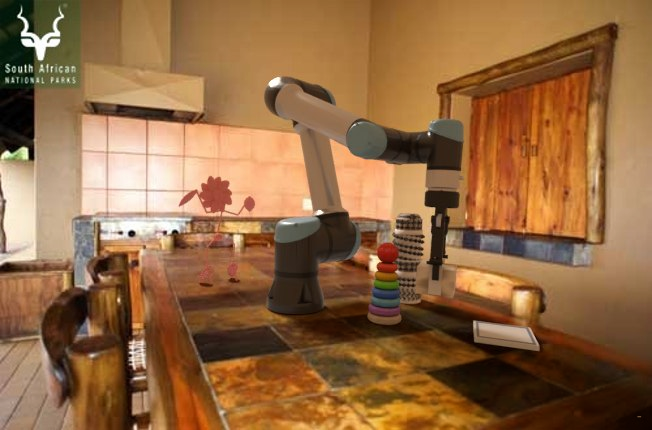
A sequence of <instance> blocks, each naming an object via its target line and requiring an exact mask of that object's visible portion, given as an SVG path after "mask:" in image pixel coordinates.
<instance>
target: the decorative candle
mask: <svg viewBox="0 0 652 430" xmlns="http://www.w3.org/2000/svg"><path fill="white" fill-rule="evenodd" d="M394 219H395V229H394V232H393V233H392V234H391V235H392V236H393V237H394V239H392V242H391V243H393V244H394V245H395V246H396V247H397V248H398V251H399V255H398V258H397V260H396V261H395V262H393V263H396V264H397V266H398V269H397V271H395V272H396V273H397V274H398V278H397V281H398V282H399V287H398V288H397V289H398V290H399V292H400V294H399V296H398V297H399V298H400V304H405V305H416V304H419V303H421V301H422V300H421V297H422V294H418V293H415V288H416V272H417V266H418V265H419V264H420V263H421V262H422V261H423V258H421V257H423V256H424V253H423V252H422V251H424V250H425V249H424V247H423V246H422V245H424V244H425V243H426V242H425V240H423V239H425V237H426V236H425V235H424V234H423V231H424V229H423V220H424V218H421V215H420V214H419V213H410V212H409V213H407V212H405V213H403V212H402V213H399V214H398V215H397V217H395V218H394Z"/></svg>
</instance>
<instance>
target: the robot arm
mask: <svg viewBox="0 0 652 430" xmlns="http://www.w3.org/2000/svg"><path fill="white" fill-rule="evenodd" d="M263 99H264V100H263V101H264V104H265V107H266V108H267V110H268V111H269V112H270V113H271V114H273V115H274V116H276V117H278V118H281V119H282V120H286V121H292V127H293V132H294V133H295V134H297V135H298V136H299V137H300V143H301V144H300V145H301V148H302V155H303V160H304V161H303V162H304V167H305V173H306V178H307V185H308V191H309V195H310V202H311V206H312V214H311V215H310V216H295V217H288V218H284V219H281V220H279V221H278V222H277V223H276V225H275V228H274V229H275V231H274V233H275V234H274V237H273V240H274V263H273V264H274V265H273V267H274V268H273V279H272V282H271V285H270V287H269V291H268V293H267V297H266V308H267V310H270V311H272V312H274V313H279V314H285V315H305V314H306V315H307V314H312V313H317V312H318V313H319V312H320V311H322V310H323V309H324V308H325V297H324V294H323V293H324V292H323V290H322V289H323V288H322V286H321V283H320V280H319V279H320V278H319V272H320V271H319V268H320V265H322V264H328V263H339V262H340V263H341V262H343V261H346V260H349V259H350V260H351V258H353V257H354V256H355V255H356V254H357V253H358V250H360V247H361V243H362V233H361V230H360V228H359V226H358V224H356V223H355V222H354V221H352V220H351V219H350V213H349V210H347V209H345V207H343V204H342V199H341V193H340V187H339V183H338V179H337V178H338V177H337V172H336V166H335V161H334V156H333V151H332V150H333V149H332V145H331V140H332V141H334V142H336V143H338V144H339V145H342V146H344V147H345V148H347V149H348V151H349V152H350V154H352V156H354V157H357V158H360V159H363V160H375V161H382V162H385V163H386V164H388V165H395V166H396V165H398V166H403V165H420V164H422V165H426V170H425V182H424V183H425V184H424V188H426V189H427V190H426V191H424V203H423V204H424V206H425V207H426V208H434V215H430V224H431V226H430V227H431V228H430V234H431V239H430V253H429V259H428V260H426V262H427V264H429V265H430V269H429V285H428V294H432V295H439V296H441V287H442V271H443V265H442V264H443V263H444V264H446V260H448V259H449V254H446V253H447V251H446V249H447V247H446V245H447V243H446V242H447V235H448V234H449V225H450V222H451V216H448V214H447V213H448V209H458V208H459V207H460V198H461V197H460V195H461V193H460V192H459V191H458V190H460V189H461V181H464V179H465V177H464V175H461V174H462V162H463V149H464V143H465V139H464V137H465V136H464V135H465V134H464V130H465V129H464V128H465V127H464V123H463V122H462V121H460V120H458V119H455V118H440V119H435V120H431V121H430V122H429V123H428V128H427V129H428V130H423V131H411V132H410V131H405V130H404V131H403V130H400V129H396V128H391V127H388V126H384V125H381V124H379V123H376V122H373V121H371V120H369V119H367V118H365V117H361V116H360V115H357V114H355V113H352V112H351V111H349V110H346V109H344V108H341V107H339V106H337V102H336V99H335V97H334V95H333V93H332V92H331V91H330V90H329V89H327V88H326V87H323V86H322V85H319V84H316V83H311V82H307V81H304V80H301V79H298V78H295V77H292V76H287V75H285V76H278V77H275V78H274V79H272V80H271V81H270V82H269V83H268V84H267V86H266V87H265V90H264V94H263ZM432 295H431V296H432ZM439 296H438V297H439Z"/></svg>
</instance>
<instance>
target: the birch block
mask: <svg viewBox="0 0 652 430" xmlns="http://www.w3.org/2000/svg"><path fill="white" fill-rule="evenodd" d="M442 265H443V271H442V287H441V296H439V295H432V294H428V285H429V269H430V265H429V264H427V260H426V261H425V260H422V261H421V263H420V264H419V265H418V266H417V272H416V288H415V293H418V294H421V295H426V296H432V297H440V298H447V299H448V298H449V299H453V298H454V296H455V291H456V286H457V285H456V284H457V270H458V269H457V267H458V265H457V264H451V263H445V264H444V263H443V264H442Z"/></svg>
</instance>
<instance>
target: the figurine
mask: <svg viewBox="0 0 652 430" xmlns="http://www.w3.org/2000/svg"><path fill="white" fill-rule="evenodd" d="M200 187H201V192H199V191H198V189H197V188H195V189H194V190H191V191H189V192H188V193H186V194H185V195H184V196H183V197H182V198H181V200H180V202H179V204H178V207H179V208H180V207H182V206H184V205H186V204H187V203H189V202H190V201H191V200H192V199H194V197H195V195H197V197H198V199H199V201H200V203H201V206H202V208H203V210H204V212H205V214H216V213H218V212H220V215H219V221H218V227H217V231H216V233H215V234H214V237H213V239H212V240H211V241H210V242H209V243H208V245H206V267H205V268H204V269H203V270H202V272H201V273H200V275H199V276H200V277H199V280H198V281H199V283H201V282H202V281H203V280H204V279H205V278H206V277H207V276H206V275H209V281H210V285H211V284H214V283H213V278H212V274H211V268H212V266H211V264H209V250H208V249H209V246H210V245H212V243H213V242H214V241H216V242H221V241H222V240H223V241H226V242H228V243H230V244H232V245H233V249H232V250H233V251H232V261H231V263H230V264H229V265H228V266H227V268H226V272H227V275H228V276H230V277H232V278H233V277H234V278H235V282H237V281H238V276H237V274H236V273H237V272H238V270H239V266H238V264H237V263H236V262H235V261H234V258H235V249H236V244H235V242H232V241H229V240H228V239H226V238H224V236H223V234H222V233H220V232H219V231H220V228H221V227H220V226H221V223H222V217H223V213H227V214H231V215H233V216H234V215H235V216H236V217H239V215H240V214H241V213H242V211H243V210H244V208H245V210H247V211H248V212H249V213H250V212H252V211H253V209H254V208H255V205H256V201H255V199H254V198H253V197H252V196H250V195H248V197H246V198H245V199H244V200H243V205H242V207H241V208H240V210H239V211H238V212H237V213H235V212H231V211H229V210H226V205H227V206H232V204H233V200H232V197H231V196H232V194H233V192H232V190H231V189H229V187H230V181H229V180H225V179H224V180H222V177H221V176H216V177H215V178H214V177H213V175H209V176H208V178H207V181H206V183H205V182H202V183H201V184H200ZM208 208H210V210H209V211H208V210H207V209H208ZM251 279H253V277H252V276H251Z"/></svg>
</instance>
